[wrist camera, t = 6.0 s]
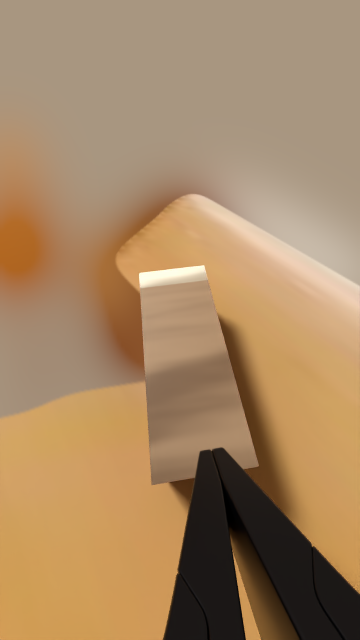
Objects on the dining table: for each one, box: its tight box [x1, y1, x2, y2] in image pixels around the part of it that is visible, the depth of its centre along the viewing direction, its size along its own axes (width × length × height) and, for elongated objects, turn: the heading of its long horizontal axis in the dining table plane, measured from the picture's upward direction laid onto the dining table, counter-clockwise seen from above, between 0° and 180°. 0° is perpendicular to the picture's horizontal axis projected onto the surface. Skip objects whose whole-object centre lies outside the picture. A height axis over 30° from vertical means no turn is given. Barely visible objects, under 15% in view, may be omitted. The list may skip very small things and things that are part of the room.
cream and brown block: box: [139, 265, 259, 485], centre depth 15 cm, size 5×5×13 cm
